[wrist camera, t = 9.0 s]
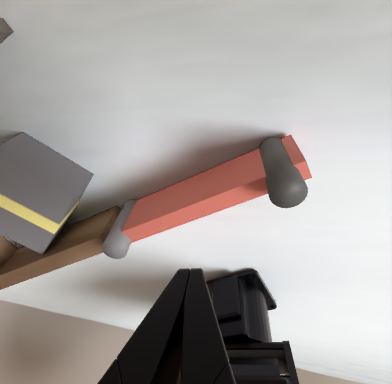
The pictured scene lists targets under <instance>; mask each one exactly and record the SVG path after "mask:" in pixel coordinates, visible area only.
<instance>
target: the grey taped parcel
mask: <svg viewBox="0 0 392 384" xmlns="http://www.w3.org/2000/svg"><path fill="white" fill-rule="evenodd" d="M93 175H94V174H93V173H91V172H89V171H88V170H86V169H84V168H83V167H81V166H79V165H78V164H76V163H74V162H73V161H71V160H69V159H68V158H66V157H64V156H63V155H61V154H59V153H58V152H56V151H54V150H53V149H51V148H49V147H48V146H46V145H44V144H43V143H41V142H39V141H38V140H36V139H34V138H33V137H31V136H29V135H28V134H26V133H24V132H22V133H20V134H19V135H17V136H15V137H13V138H11V139H9V140H8V141H6V142H4V143H2V144H0V235H2V236H5V237H7V238H9V239H11V240H13V241H15V242H17V243H19V244H21V245H23V246H25V247H27V248H30V249H32V250H34V251H36V252H38V253H40V254H42V255H43V254H44V252H45V251H46V250H47V249H48V247H49V246H50V245H51V244H52V242H53V241H54V240H55V238H56V237H57V236H58V235H59V233H60V232H61V231H62V229H63V228H64V226H65V224H66V223H67V221H68V219H69V217H70V215H71V214H72V212H73V210H74V209H75V208H76V206H77V204H78V202H79V201H80V198H81V196H82V194H83V192H84V191H85V189H86V187H87V185H88V184H89V182H90V180H91V178H92V176H93Z"/></svg>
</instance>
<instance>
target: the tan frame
mask: <svg viewBox="0 0 392 384" xmlns="http://www.w3.org/2000/svg"><path fill="white" fill-rule="evenodd" d="M12 33H13V31H12V29H11V28H10V27H9V25H8V24H7V23H6V21H5V20H4V19H3V18H0V43H2V42H3V41H4V40H5V39H6V38H7V37H8V36H9V35H11V34H12ZM120 212H121V209H120V208H119V207H118V206H115V207H113V208H111V209H108V210H106V211H104V212H102V213H99V214H97V215H95V216H92V217H90V218H88V219H85V220H83V221H81V222H78V223H76V224H74V225H72V226H69V227H67V228H65V229H62V231H61V232H60V233H59V235H58V236H57V237H56V238H55V240H54V241H53V242H52V244H51V245H50V246H49V247H48V249H47V250H46V251H45V252H44V254H43V255H42V254H40V253H38V252H36V251H34V250H32V249H30V248H27V247H25V246H23V247H21V248H19V249H17V248H16V247H15V246H14V245H13V244H11V243H10V242H9V241H8V240H6V239H5V238H4V237H3V236H2V235H0V290H1V289H4V288H6V287H9V286H12V285H15V284H17V283H20V282H23V281H26V280H28V279H31V278H34V277H37V276H39V275H42V274H45V273H48V272H50V271H53V270H56V269H59V268H62V267H64V266H67V265H70V264H73V263H75V262H78V261H81V260H84V259H86V258H89V257H92V256H95V255H97V254H100V253H103V250H102V245H103V243H104V241H105V239H106V238H107V236H108V234H109V232H110V230H111V228H112V227H113V225H114V223H115V221H116V219H117V218H118V216H119V214H120Z"/></svg>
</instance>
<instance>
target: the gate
mask: <svg viewBox="0 0 392 384" xmlns="http://www.w3.org/2000/svg"><path fill="white" fill-rule="evenodd" d="M309 178H312V177H311V174H310V171H309V168H308V165H307V162H306V160H305V158H304V156H303V155H302V153H301V151H300V150H299V148H298V146H297V144H296V143H295V141H294V139H293V138H292V136H291V135H289V136H286V137H284V138H282V139H280V138H276V137H273V138H268V139H266V140H265V141H263V142H262V143H261V145H260V146H259V148H258V149H256V150H254V151H251V152H249V153H247V154H244V155H242V156H240V157H237V158H235V159H233V160H230V161H228V162H226V163H223V164H221V165H218V166H216V167H214V168H211V169H209V170H207V171H204V172H202V173H200V174H197V175H195V176H193V177H190V178H188V179H186V180H183V181H181V182H179V183H176V184H174V185H172V186H169V187H167V188H165V189H162V190H160V191H158V192H155V193H153V194H151V195H148V196H146V197H144V198H141V199H139V200H137V201H136V200H129V201H127V202H126V203H125V205H124V207H123V208H122V210H121V212H120V214H119V216H118V218H117V219H116V221H115V223H114V225H113V227H112V228H111V230H110V232H109V234H108V236H107V238H106V239H105V241H104V243H103V245H102V250H103V252H104V253H105V254H106V255H107V256H109V257H111V258H115V259H120V258H123V257H125V255H126V253H127V251H128V249H129V246H130V244H131V243H132V242H135V241H138V240H140V239H143V238H146V237H149V236H152V235H154V234H157V233H160V232H163V231H165V230H168V229H171V228H174V227H176V226H179V225H182V224H185V223H187V222H190V221H193V220H196V219H199V218H201V217H204V216H207V215H210V214H212V213H215V212H218V211H221V210H223V209H226V208H229V207H232V206H234V205H237V204H240V203H243V202H246V201H248V200H251V199H254V198H257V197H259V196H262V195H265V194H269V198H270V200H271V202H272V203H273V204H274V205H276V206H278V207H281V208H290V207H294V206H297V205H299V204H300V203H301V202H302V201H303V200H304V199H305V198H306V196H307V193H308V188H307V185H306V183H305V181H304V180H306V179H309Z"/></svg>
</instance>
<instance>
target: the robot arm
mask: <svg viewBox="0 0 392 384" xmlns="http://www.w3.org/2000/svg"><path fill="white" fill-rule="evenodd" d="M276 307H277V306H276V302H275V300H274V299H273V297H272V295H271V294H270V292H269V290H268V289H267V287H266V285H265V284H264V282H263V280H262V279H261V277H260V275H259V274H258V272H257V271H256V270H249V271H246V272H242V273H238V274H234V275H231V276H227V277H223V278H219V279H215V280H212V281H208V282H206V280H205V277H204V273H203V270H202V269H201V268H193V269H191V270H190V269H179V270H178V271H177V272H176V274H175V275H174V277H173V278H172V280H171V281H170V282H169V284H168V285H167V287H166V288H165V290H164V291H163V292H162V294H161V295H160V297H159V298H158V299H157V301H156V302H155V304H154V305H153V307H152V308H151V309H150V311H149V312H148V314H147V315H146V316H145V318H144V319H143V321H142V322H141V324H140V325H139V326H138V328H137V329H136V331H135V332H134V333H133V335H132V337H131V338H130V339H129V341H128V342H127V343H126V345H125V346H124V348H123V349H122V351H121V352H120V353H119V355H118V356H117V359H115V360H114V362H113V363H112V364H111V366H110V367H109V369H108V370H107V372H106V373H105V374H104V376H103V377H102V378H101V380H100V381H99V382H98V384H299V382H298V377H297V373H296V369H295V365H294V360H293V356H292V352H291V348H290V344H289V341H282V342H272V338H271V331H270V324H269V317H268V310H273V309H275V308H276ZM280 374H285V375H280Z"/></svg>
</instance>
